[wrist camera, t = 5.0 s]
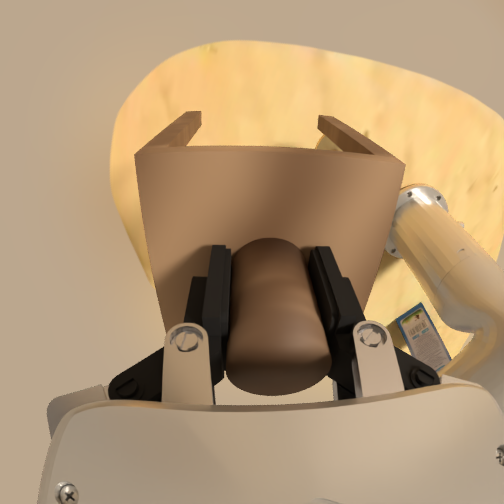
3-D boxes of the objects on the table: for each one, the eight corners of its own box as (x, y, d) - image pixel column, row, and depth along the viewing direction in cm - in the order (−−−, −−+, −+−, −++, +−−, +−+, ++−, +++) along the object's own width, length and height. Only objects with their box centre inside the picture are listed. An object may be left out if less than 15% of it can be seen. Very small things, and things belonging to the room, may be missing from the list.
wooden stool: (332, 116, 19) (485, 231, 6) (316, 238, 25) (374, 419, 12) (186, 111, 19) (65, 222, 6) (193, 236, 24) (153, 425, 11)
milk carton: (433, 324, 56) (469, 398, 40) (410, 339, 58) (441, 415, 42) (420, 301, 52) (463, 384, 35) (395, 319, 54) (431, 404, 38)
